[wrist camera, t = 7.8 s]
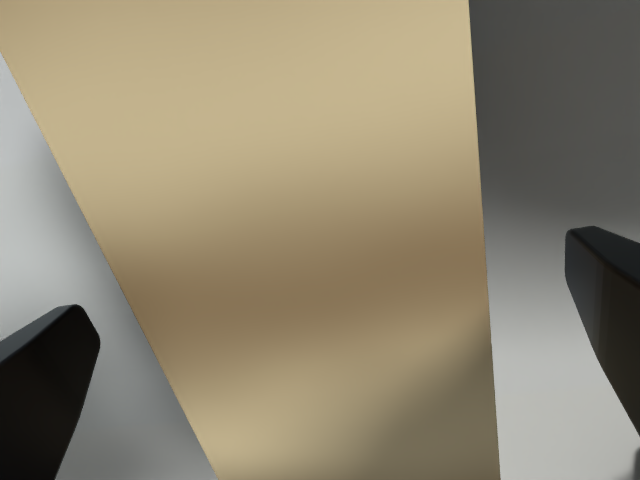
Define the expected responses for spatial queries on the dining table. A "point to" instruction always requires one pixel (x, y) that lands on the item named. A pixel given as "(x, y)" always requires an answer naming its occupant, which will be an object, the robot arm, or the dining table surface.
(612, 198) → the dining table surface
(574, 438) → the dining table surface
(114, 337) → the dining table surface
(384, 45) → the oak plank
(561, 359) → the dining table surface
